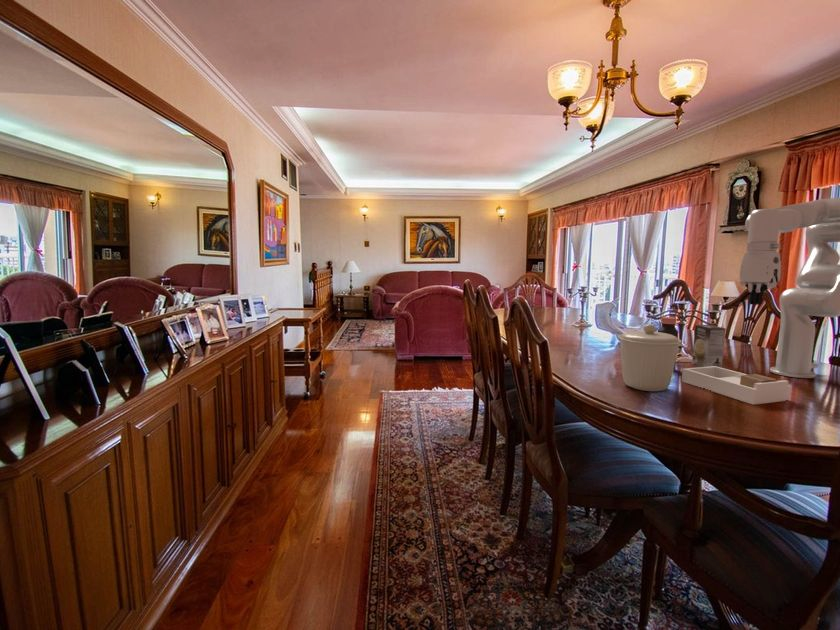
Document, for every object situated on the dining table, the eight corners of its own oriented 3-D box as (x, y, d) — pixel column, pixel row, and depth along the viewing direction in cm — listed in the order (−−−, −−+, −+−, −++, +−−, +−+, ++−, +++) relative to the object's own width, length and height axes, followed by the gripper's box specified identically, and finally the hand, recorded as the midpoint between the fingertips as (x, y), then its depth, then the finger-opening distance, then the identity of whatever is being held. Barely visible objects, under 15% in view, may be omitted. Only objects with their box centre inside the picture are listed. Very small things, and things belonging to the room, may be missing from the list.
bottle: (669, 366, 162) (673, 316, 159) (678, 371, 155) (683, 319, 153) (651, 366, 163) (655, 316, 160) (659, 371, 156) (663, 318, 154)
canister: (644, 398, 125) (649, 329, 123) (603, 381, 143) (606, 321, 140) (691, 393, 130) (697, 327, 128) (646, 377, 148) (650, 319, 145)
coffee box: (690, 363, 168) (694, 324, 165) (706, 363, 167) (710, 324, 165) (706, 369, 158) (709, 328, 156) (722, 369, 158) (726, 328, 156)
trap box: (713, 378, 146) (715, 361, 145) (788, 400, 123) (791, 380, 122) (681, 381, 143) (683, 364, 142) (753, 404, 120) (755, 384, 119)
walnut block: (754, 385, 128) (755, 374, 128) (775, 390, 123) (776, 379, 122) (739, 386, 127) (740, 375, 126) (760, 392, 121) (761, 380, 121)
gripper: (795, 247, 128) (789, 306, 130) (746, 248, 142) (741, 301, 144) (777, 247, 126) (771, 307, 128) (729, 248, 140) (724, 302, 142)
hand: (755, 304), depth 136 cm, fingers closed
